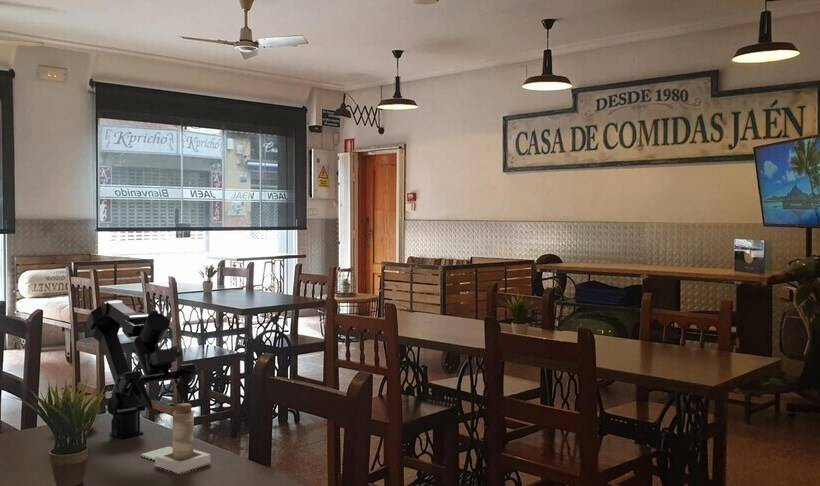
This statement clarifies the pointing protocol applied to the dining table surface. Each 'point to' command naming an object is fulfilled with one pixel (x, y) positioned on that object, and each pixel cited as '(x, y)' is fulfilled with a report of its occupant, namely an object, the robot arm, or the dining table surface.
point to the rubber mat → (156, 452)
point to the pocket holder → (180, 466)
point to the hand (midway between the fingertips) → (169, 406)
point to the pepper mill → (183, 432)
